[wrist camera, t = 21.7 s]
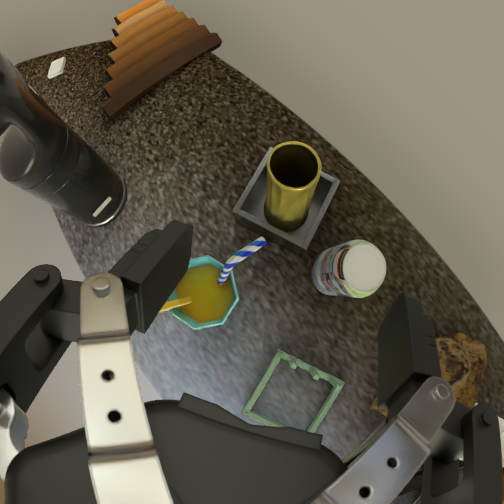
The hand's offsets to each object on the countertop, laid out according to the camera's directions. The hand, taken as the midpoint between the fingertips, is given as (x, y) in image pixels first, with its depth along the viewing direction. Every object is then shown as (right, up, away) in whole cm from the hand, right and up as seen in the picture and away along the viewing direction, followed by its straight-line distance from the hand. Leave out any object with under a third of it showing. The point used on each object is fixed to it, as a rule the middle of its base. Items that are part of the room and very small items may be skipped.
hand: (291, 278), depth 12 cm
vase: (+3, +7, +32) cm, 33 cm away
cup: (-5, -5, +31) cm, 32 cm away
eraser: (-42, +40, +41) cm, 71 cm away
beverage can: (+10, -2, +31) cm, 32 cm away
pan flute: (-34, +32, +36) cm, 59 cm away
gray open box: (+3, +7, +32) cm, 33 cm away
